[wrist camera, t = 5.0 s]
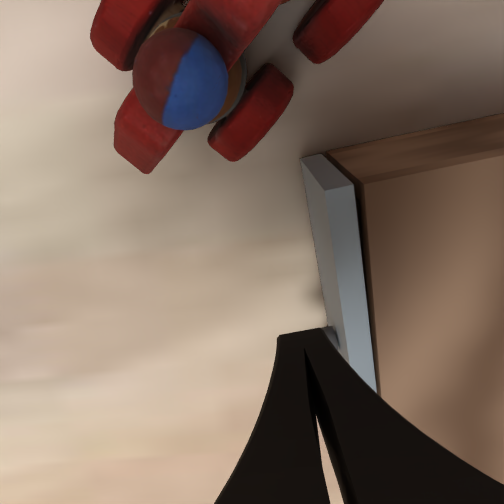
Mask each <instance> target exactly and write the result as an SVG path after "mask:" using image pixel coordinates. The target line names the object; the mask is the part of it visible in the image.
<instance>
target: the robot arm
mask: <svg viewBox="0 0 504 504" xmlns="http://www.w3.org/2000/svg"><path fill="white" fill-rule="evenodd" d="M316 416H317V419H318V423H319V426H320V429H321V432H322V435H323V438H324V441H325V444H326V447H327V450H328V454H329V457H330V460H331V463H332V466H333V469H334V472H335V475H336V478H337V481H338V484H339V488H340V491H341V495H342V498H343V502H344V504H504V485H503V484H502V483H500V482H498V481H496V480H494V479H493V478H491V477H489V476H488V475H486V474H484V473H483V472H481V471H480V470H478V469H476V468H475V467H473V466H472V465H470V464H468V463H467V462H465V461H464V460H462V459H460V458H459V457H457V456H456V455H455V454H453V453H452V452H450V451H449V450H447V449H446V448H445V447H443V446H442V445H440V444H439V443H437V442H436V441H435V440H433V439H432V438H430V437H429V436H427V435H426V434H425V433H423V432H422V431H421V430H419V429H418V428H417V427H415V426H414V425H413V424H412V423H410V422H409V421H408V420H407V419H405V418H404V417H403V416H402V415H401V414H399V413H398V412H397V411H396V410H395V409H393V408H392V407H391V406H390V405H389V404H388V403H387V402H386V401H384V400H383V399H382V398H381V397H380V396H379V395H378V394H377V393H376V392H375V391H374V390H373V389H372V388H371V387H370V386H369V385H368V384H367V383H366V382H365V381H364V380H363V379H362V378H361V377H360V376H359V375H358V374H357V373H356V372H355V370H354V369H353V368H352V367H351V366H350V365H349V364H348V363H347V361H346V360H345V359H344V358H343V357H342V356H341V354H340V353H339V352H338V350H337V349H336V348H335V347H334V345H333V344H332V343H331V341H330V340H329V338H328V337H327V335H326V333H325V332H324V330H323V329H321V328H315V329H310V330H304V331H299V332H293V333H288V334H282V335H279V337H278V338H277V349H276V356H275V362H274V367H273V371H272V375H271V379H270V383H269V387H268V390H267V393H266V396H265V399H264V402H263V405H262V408H261V411H260V414H259V417H258V419H257V422H256V424H255V427H254V429H253V431H252V434H251V436H250V438H249V441H248V443H247V445H246V447H245V449H244V451H243V453H242V455H241V457H240V459H239V461H238V463H237V465H236V467H235V469H234V471H233V473H232V474H231V476H230V478H229V480H228V481H227V483H226V485H225V486H224V488H223V490H222V491H221V493H220V495H219V496H218V498H217V499H216V501H215V503H214V504H330V500H329V495H328V491H327V486H326V482H325V477H324V473H323V468H322V461H321V453H320V444H319V436H318V428H317V420H316Z"/></svg>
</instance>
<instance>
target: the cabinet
mask: <svg viewBox="0 0 504 504" xmlns="http://www.w3.org/2000/svg"><path fill="white" fill-rule="evenodd" d="M326 156H327V160H328V161H329V162H330V163H332V164H333V165H334V166H335V167H336V168H337V169H338V170H339V171H340V172H341V173H342V174H343V175H344V176H345V177H346V178H347V179H348V180H349V181H351V182H352V183H353V184H354V193H355V202H356V211H357V220H358V229H359V238H360V247H361V256H362V265H363V274H364V283H365V291H366V300H367V309H368V318H369V327H370V336H371V345H372V354H373V363H374V372H375V381H376V390H377V394H378V395H379V396H380V397H381V398H382V399H383V400H384V401H386V402H387V403H388V404H389V405H390V406H391V407H392V408H393V409H395V410H396V411H397V412H398V413H399V414H401V415H402V416H403V417H404V418H405V419H407V420H408V421H409V422H410V423H412V424H413V425H414V426H415V427H417V428H418V429H419V430H421V431H422V432H423V433H425V434H426V435H427V436H429V437H430V438H432V439H433V440H435V441H436V442H437V443H439V444H440V445H442V446H443V447H445V448H446V449H447V450H449V451H450V452H452V453H453V454H455V455H456V456H457V457H459V458H460V459H462V460H464V461H465V462H467V463H468V464H470V465H472V466H473V467H475V468H476V469H478V470H480V471H481V472H483V473H484V474H486V475H488V476H489V477H491V478H493V479H494V480H496V481H498V482H500V483H502V484H503V485H504V113H502V114H497V115H492V116H488V117H483V118H478V119H474V120H469V121H464V122H460V123H455V124H450V125H446V126H441V127H436V128H432V129H427V130H422V131H418V132H413V133H408V134H404V135H399V136H394V137H390V138H385V139H380V140H376V141H371V142H366V143H362V144H357V145H352V146H348V147H343V148H338V149H334V150H329V151H326Z"/></svg>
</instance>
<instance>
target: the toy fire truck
mask: <svg viewBox="0 0 504 504" xmlns="http://www.w3.org/2000/svg"><path fill="white" fill-rule="evenodd" d="M183 1H184V0H101V3H100V5H99V8H98V10H97V12H96V15H95V17H94V20H93V23H92V27H91V33H90V39H91V41H92V45H93V47H94V48H95V49H96V51H97V52H98V53H100V54H101V55H102V56H103V57H104V58H106V59H107V60H108V61H109V62H110V63H112V64H113V65H114V66H115V67H116V68H117V69H119V70H121V71H130V70H133V72H132V75H133V86H134V87H133V88H132V90H131V91H130V93H129V94H128V96H127V97H126V98H125V100H124V102H123V103H122V105H121V107H120V109H119V110H118V112H117V115H116V118H115V122H114V125H115V127H114V128H115V131H114V148H115V150H116V151H117V152H118V153H119V154H120V155H121V156H122V157H124V158H125V159H126V160H127V161H129V162H130V163H131V164H132V165H134V166H135V167H136V168H137V169H139V170H140V171H141V172H142V173H144V174H149V173H151V172H152V170H153V169H154V168H155V167H156V165H157V164H158V163H159V162H160V161H161V160H162V159H163V157H164V156H165V155H166V154H167V152H168V151H169V150H170V148H171V147H172V146H173V144H174V143H175V142H176V140H177V139H178V138H179V136H180V135H181V134H182V132H183V131H184V130H192V129H196V128H199V127H202V126H203V125H205V124H210V123H213V122H217V121H218V122H217V123H216V125H215V126H214V127H213V129H212V131H211V132H210V134H209V136H208V143H209V145H210V146H211V147H212V148H213V149H214V150H216V151H217V152H218V153H220V154H221V155H222V156H223V157H224V158H226V159H227V160H229V161H232V162H235V161H238V160H239V159H241V158H242V157H244V156H245V155H246V154H247V153H248V152H249V151H251V150H252V149H253V148H254V147H255V146H256V145H257V143H258V142H259V141H260V140H261V139H262V138H263V137H264V136H265V135H266V134H267V132H268V131H269V130H270V128H271V127H272V126H273V125H274V124H275V122H276V121H277V120H278V119H279V117H280V116H281V115H282V113H283V112H284V110H285V109H286V107H287V105H288V104H289V102H290V100H291V98H292V96H293V90H294V86H293V84H292V82H291V81H290V80H289V79H288V78H287V77H286V76H285V75H284V74H282V73H281V72H280V71H279V70H278V69H277V68H276V67H275V66H274V65H272V64H266V65H264V66H263V67H262V68H261V69H260V70H259V71H258V72H257V73H256V74H255V75H254V76H253V77H252V78H251V80H250V81H249V82H248V83H247V84H246V85H245V83H246V77H247V67H246V60H245V56H244V52H243V51H244V50H245V49H246V48H247V47H248V45H249V44H250V43H251V42H252V41H253V39H254V38H255V37H256V36H257V34H258V33H259V32H260V30H261V29H262V28H263V26H264V25H265V24H266V22H267V21H268V20H269V18H270V17H271V16H272V14H273V13H274V11H275V10H276V8H277V7H278V5H279V4H283V3H286V2H288V1H290V0H189V2H188V4H187V6H186V8H185V7H184V6H183V5H182V3H183ZM383 1H384V0H316V2H315V3H314V4H313V6H312V7H311V8H310V10H309V11H308V12H307V14H306V15H305V17H304V18H303V19H302V21H301V22H300V24H299V25H298V27H297V28H296V30H295V31H294V34H293V38H292V39H293V43H294V45H295V47H296V48H298V49H299V50H300V51H301V52H302V53H303V54H304V55H305V56H306V57H307V58H308V59H309V60H310V61H311V62H313V63H315V64H320V63H322V62H325V61H326V60H328V59H329V58H331V57H332V56H333V55H335V54H336V53H337V52H338V51H339V50H340V49H341V48H342V47H343V46H344V45H345V44H346V43H348V42H349V41H350V40H351V38H352V37H353V36H354V35H355V34H356V33H357V32H358V31H359V30H360V29H361V28H362V26H363V25H364V24H365V23H366V22H367V21H368V19H369V18H370V17H371V16H372V15H373V13H374V12H375V11H376V10H377V9H378V8H379V6H380V5H381V4H382V2H383Z"/></svg>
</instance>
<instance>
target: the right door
mask: <svg viewBox="0 0 504 504" xmlns="http://www.w3.org/2000/svg"><path fill="white" fill-rule="evenodd" d="M300 161H301V167H302V173H303V179H304V185H305V191H306V197H307V203H308V209H309V215H310V221H311V227H312V233H313V239H314V245H315V251H316V256H317V262H318V268H319V274H320V280H321V286H322V292H323V298H324V304H325V310H326V316H327V322H328V327H323V328H321V329H323V330H324V332H325V333H326V335H327V337H328V338H329V340H330V341H331V343H332V344H333V345H334V347H335V348H336V349H337V350H338V352H339V353H340V354H341V356H342V357H343V358H344V359H345V360H346V361H347V363H348V364H349V365H350V366H351V367H352V368H353V369H354V370H355V372H356V373H357V374H358V375H359V376H360V377H361V378H362V379H363V380H364V381H365V382H366V383H367V384H368V385H369V386H370V387H371V388H372V389H373V390H374V391H375V392H376V393H377V390H376V381H375V372H374V363H373V354H372V345H371V336H370V327H369V318H368V309H367V300H366V291H365V283H364V274H363V265H362V256H361V247H360V238H359V229H358V220H357V211H356V202H355V193H354V184H353V183H352V182H351V181H349V180H348V179H347V178H346V177H345V176H344V175H343V174H342V173H341V172H340V171H339V170H338V169H337V168H336V167H335V166H334V165H333V164H332V163H330V162H329V161H328V160H327V159H326V158H325V157H324V156H323V155H322V154H317V155H312V156H308V157H304V158H300Z"/></svg>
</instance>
